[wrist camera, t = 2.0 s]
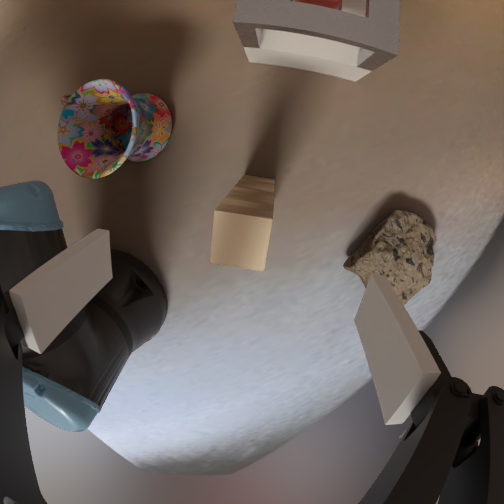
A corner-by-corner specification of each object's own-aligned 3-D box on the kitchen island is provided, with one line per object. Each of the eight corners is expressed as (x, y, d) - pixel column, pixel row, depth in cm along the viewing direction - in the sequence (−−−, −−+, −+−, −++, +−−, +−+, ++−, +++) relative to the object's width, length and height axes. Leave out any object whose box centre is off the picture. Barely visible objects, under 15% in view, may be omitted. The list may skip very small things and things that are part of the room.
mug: (193, 115, 29) (156, 107, 20) (150, 178, 33) (104, 198, 23) (122, 69, 27) (71, 55, 18) (87, 130, 31) (32, 136, 21)
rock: (442, 248, 33) (458, 262, 29) (384, 304, 37) (393, 323, 33) (400, 191, 31) (415, 200, 27) (334, 257, 35) (341, 273, 31)
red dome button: (291, 26, 22) (294, -5, 15) (295, -3, 20) (299, -38, 13) (330, 33, 22) (345, 5, 15) (333, 4, 20) (348, -28, 13)
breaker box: (249, 62, 27) (243, 46, 21) (263, -19, 22) (260, -43, 16) (355, 81, 26) (371, 71, 21) (363, 0, 22) (377, -20, 16)
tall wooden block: (240, 204, 33) (209, 262, 18) (244, 174, 32) (214, 210, 17) (270, 208, 33) (263, 271, 18) (274, 179, 32) (272, 219, 17)
